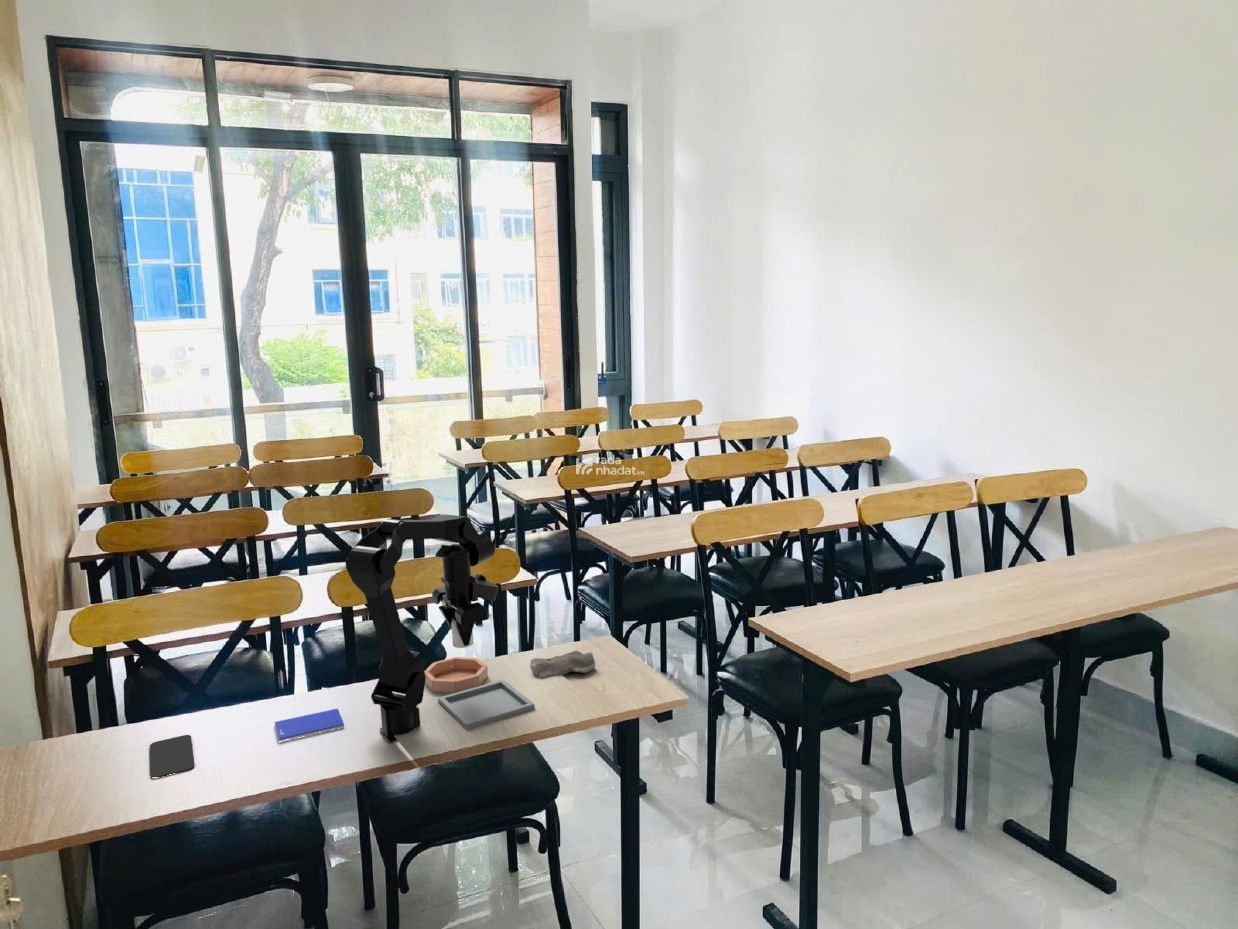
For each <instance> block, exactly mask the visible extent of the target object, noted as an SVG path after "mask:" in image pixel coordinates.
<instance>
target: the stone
mask: <svg viewBox="0 0 1238 929" xmlns="http://www.w3.org/2000/svg"><path fill="white" fill-rule="evenodd" d="M529 664H530V665H529V666H530V670H531V671H532V673H533V675H535V676H536V677H538V678H539V679H545V678H550V677H553V676H557V675H560V676H562V677H563V676H565V675H567V674H569V673H572V671H573V673H582V674H584V673H588V672H590V671H593V669H594V668H596V660H595V659H594V654H593V653H592V652H591V651H589V652H588V651H587V652H586V653H582V652H581V651H579V650H573V651H571V652H568V653H565V654H562V655H556V656H553V657H551V658H550V657H549V658H539V657H537V658H532V659H531V660H530V663H529Z"/></svg>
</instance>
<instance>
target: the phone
mask: <svg viewBox="0 0 1238 929" xmlns="http://www.w3.org/2000/svg"><path fill="white" fill-rule="evenodd" d="M192 740H193V739H192V736H191V735H190V734H184V735H180V736H174V737H171V738H166V739H161V740H157V741H154V742H152V743H151V744H150V745H149V750H150V751H149V773H150V774H149V775H150V776H151V777H162V776H166V777H168V776H167V775H169V774H173V773H178V774H181V772H182V773H185V771H186V772H188V770H189V771H192V770H193V769H194V768H195V757H194V750H193V748H194V746H193V745H194V744H193V741H192ZM192 747H193V748H192ZM151 777H150V778H151ZM162 778H163V777H162Z"/></svg>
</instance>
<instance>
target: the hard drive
mask: <svg viewBox="0 0 1238 929" xmlns="http://www.w3.org/2000/svg"><path fill="white" fill-rule="evenodd" d="M342 727H344V728H345V724H344V720H343V718H342V716H341V714H340V711H339V708H332V709H329V710H325V711H320V712H315V713H310V714H305V715H301V716H300V715H299V716H297V717H296V716H295V717H291V718H287V719H283V720H282V719H281V720H277V721H274V728H276V729H275V732H277V733H276V737H277V736H278V737H277V741H278V740H279V741H283V740H286V739H294V738H298V737H302V736H307V737H310V736H309V735H311V736H313V735H312V734H315V733H319V732H324V733H326V732H325V731H328V732H330V731H329V730H332V729H337V730H339V729H338V728H341V729H343V728H342ZM298 739H299V738H298ZM294 740H295V739H294ZM279 741H278V742H279Z"/></svg>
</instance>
